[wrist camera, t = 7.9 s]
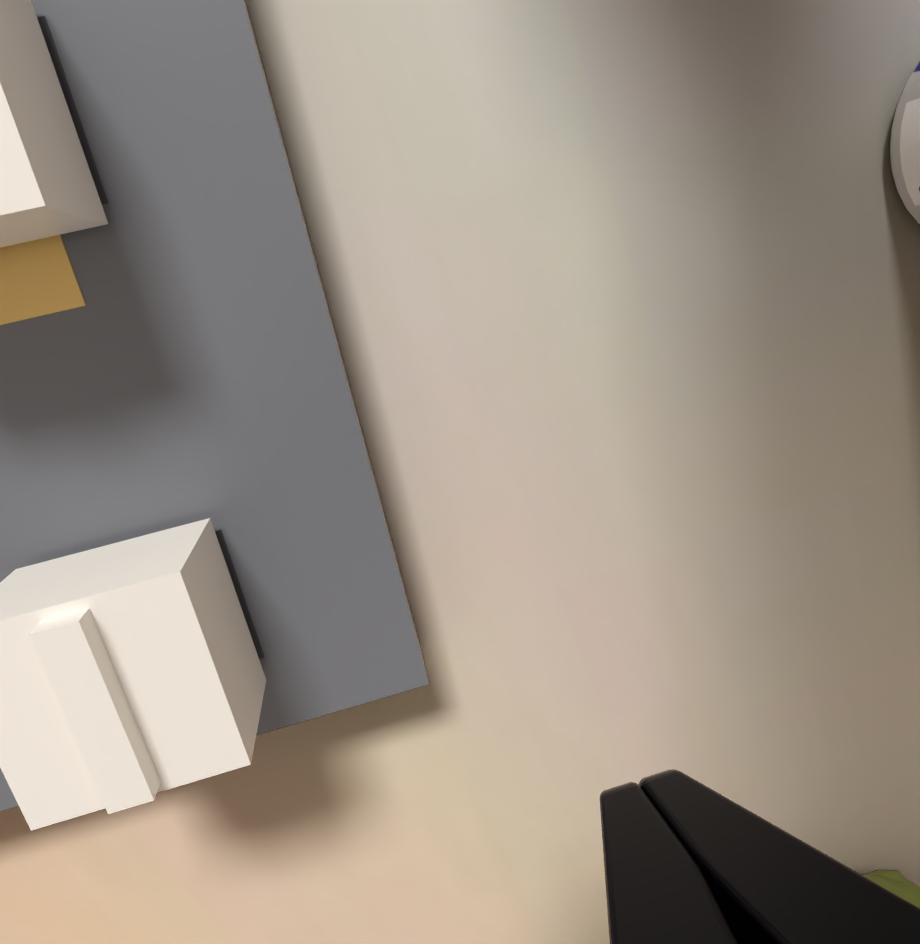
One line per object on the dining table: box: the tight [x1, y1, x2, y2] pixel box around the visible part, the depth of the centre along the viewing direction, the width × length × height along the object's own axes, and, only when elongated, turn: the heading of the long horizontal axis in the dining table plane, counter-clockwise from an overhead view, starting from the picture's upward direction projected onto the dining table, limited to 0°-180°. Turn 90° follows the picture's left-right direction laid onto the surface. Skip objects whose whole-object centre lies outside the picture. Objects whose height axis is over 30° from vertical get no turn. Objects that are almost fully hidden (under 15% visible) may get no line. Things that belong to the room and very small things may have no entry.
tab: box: [0, 518, 266, 831], centre depth 14 cm, size 4×4×4 cm
